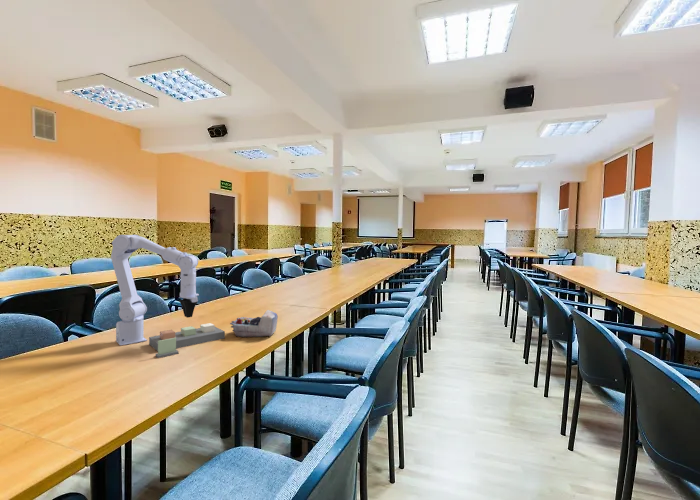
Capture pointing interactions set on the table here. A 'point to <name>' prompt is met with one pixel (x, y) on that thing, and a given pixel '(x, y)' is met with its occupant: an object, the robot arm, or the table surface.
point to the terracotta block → (167, 334)
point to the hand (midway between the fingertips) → (188, 316)
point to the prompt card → (166, 348)
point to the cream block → (207, 328)
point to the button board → (190, 338)
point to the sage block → (188, 331)
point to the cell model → (255, 325)
